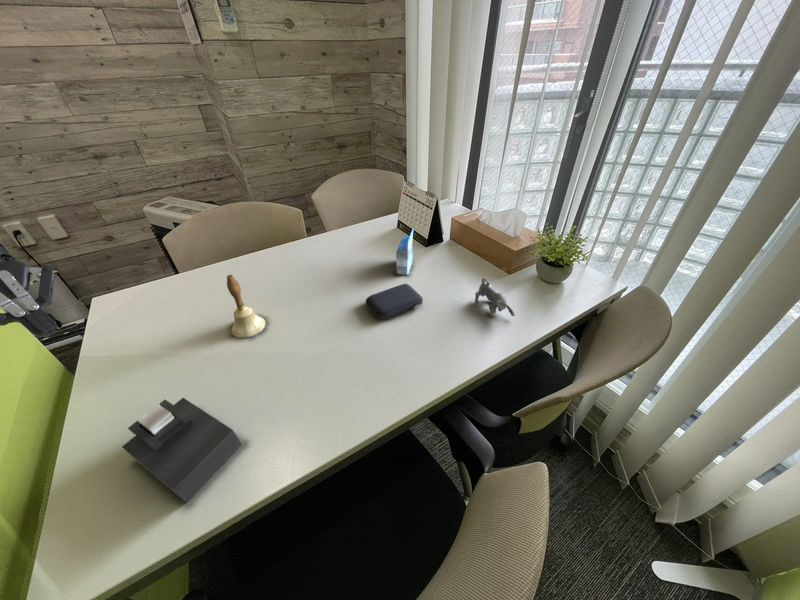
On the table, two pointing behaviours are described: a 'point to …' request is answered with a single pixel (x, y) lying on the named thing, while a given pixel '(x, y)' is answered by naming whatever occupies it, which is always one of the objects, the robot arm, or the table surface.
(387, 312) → the carrying case
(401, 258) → the blue white carton
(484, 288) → the dog figurine
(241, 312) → the hand bell
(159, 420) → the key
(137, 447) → the black square panel
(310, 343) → the table surface
